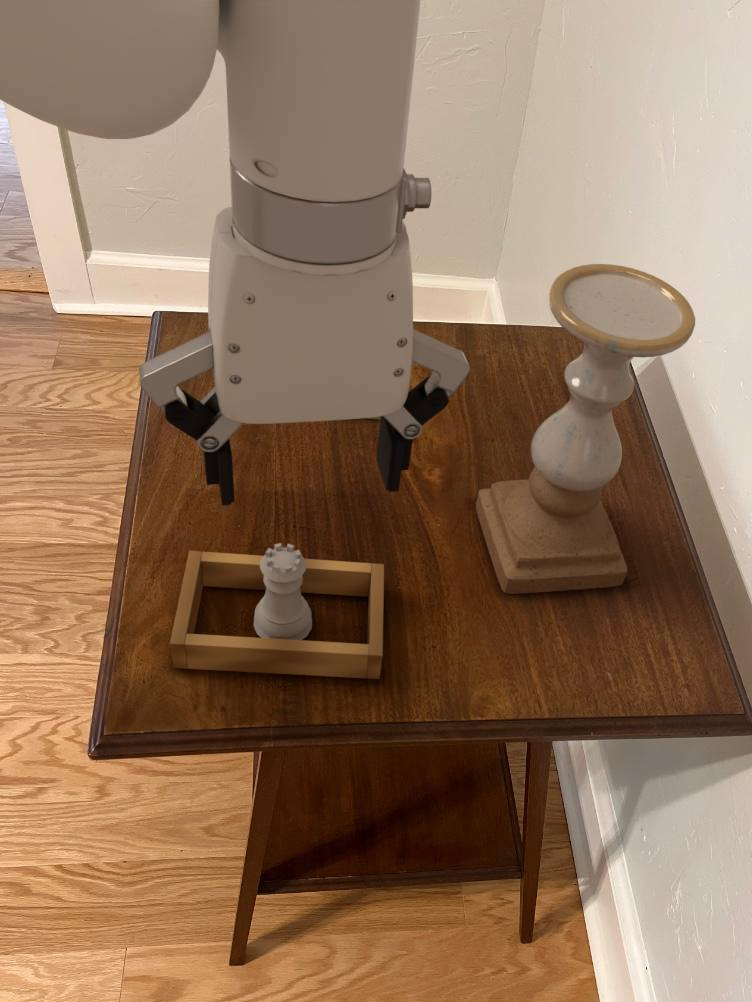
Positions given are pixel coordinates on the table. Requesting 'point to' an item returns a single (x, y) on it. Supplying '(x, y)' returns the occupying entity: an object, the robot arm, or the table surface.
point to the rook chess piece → (283, 596)
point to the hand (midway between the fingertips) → (308, 482)
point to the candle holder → (581, 435)
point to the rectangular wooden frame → (277, 652)
